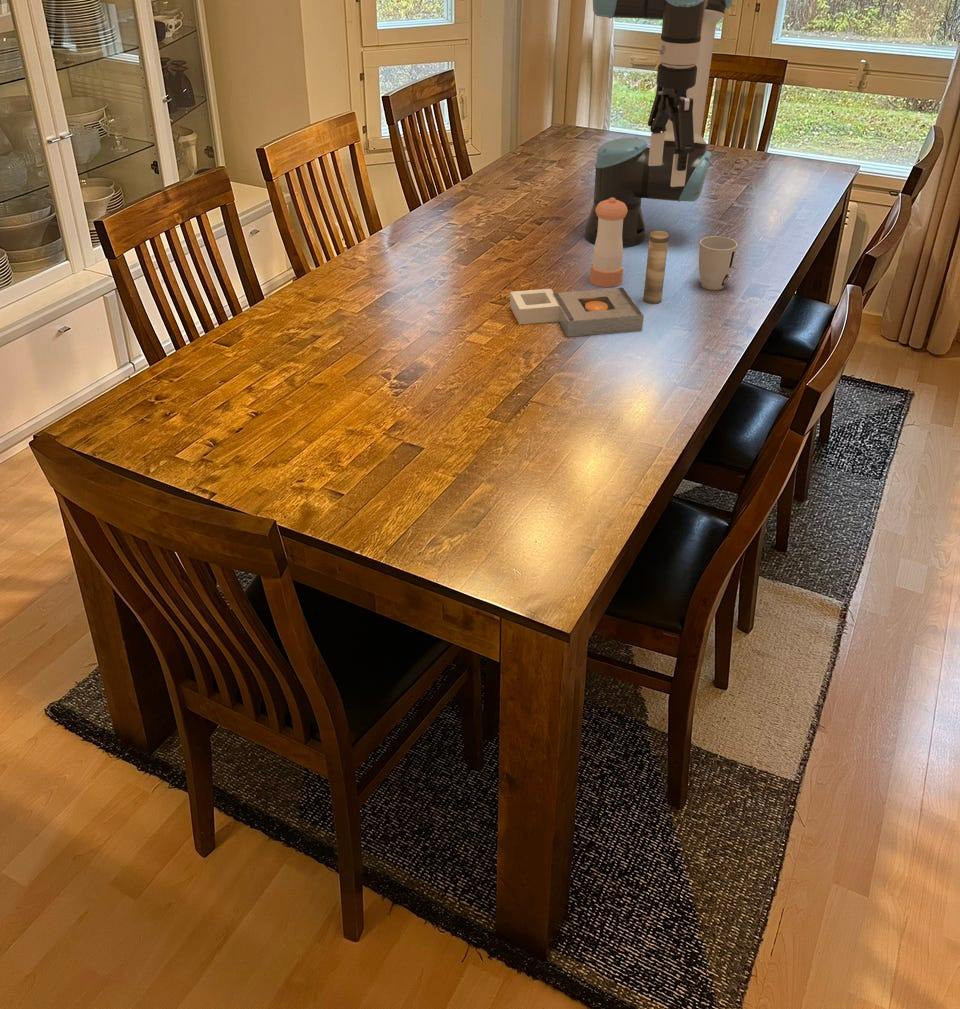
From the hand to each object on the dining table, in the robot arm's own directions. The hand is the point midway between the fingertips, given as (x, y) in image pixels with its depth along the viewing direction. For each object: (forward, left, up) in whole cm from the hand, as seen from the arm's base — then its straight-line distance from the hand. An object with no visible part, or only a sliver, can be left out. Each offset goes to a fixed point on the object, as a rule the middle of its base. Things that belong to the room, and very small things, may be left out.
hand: (665, 175), depth 203 cm
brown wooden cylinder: (0, 0, -27) cm, 27 cm away
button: (+7, -15, -25) cm, 30 cm away
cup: (-5, +16, -28) cm, 32 cm away
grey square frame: (+7, -15, -27) cm, 32 cm away
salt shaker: (-12, -7, -28) cm, 31 cm away
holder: (+2, -27, -27) cm, 38 cm away
